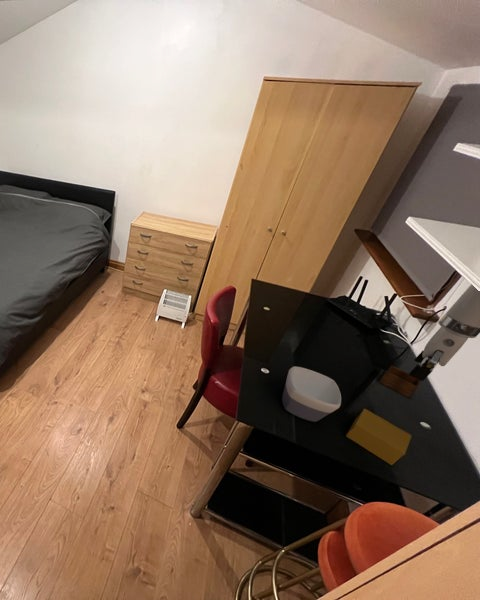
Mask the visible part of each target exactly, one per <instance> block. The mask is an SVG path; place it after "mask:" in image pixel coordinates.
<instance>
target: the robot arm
mask: <svg viewBox="0 0 480 600" xmlns="http://www.w3.org/2000/svg"><path fill="white" fill-rule="evenodd" d="M438 325H439V326H440V327H439V328H438V330H437V331H436V332H434V334H433V335H432V336H431V338H430V339H429V340H428V342H427V343H426V345H425V346H424V349H423V350H422V351H421V352H420V353H419V354H418V355H417V356H416V357H415V358H414V361H415V362H416V363H417V364H416V365H415V366H414V367H413V369H411V371H410V372H408V374H409V375H410V376H412V377H414V378H416V379H419V380H421V381H420V382H424V381H425V380H426V379H427V378H428V377H429V375H431V374H432V373H433V371H434V369H435V368H436V367H437V365H439V366H440V367H445V366H446V365H447V364H448V363H449V362H450V361H451V359H453V357H454V356H455V355H457V353H458V352H459V351H460V350H461V348H462V347H463V346H464V345H465V344H466V342H467V341H468V340H469V339H475V338H477V337H478V335H480V291H478V290H477V289H476V288H475V287H474V286H473V285H472V283H471V284H470V285H469V286H468V287H467V288H466V290H465V291H464V292H463V293H462V294H461V296H459V298H457V300H455V302H454V303H453V305H451V307H450V308H449V309H448V310H447V311H446V312H445V314H443V316H442V317H441V318H440V319H439V320H438Z"/></svg>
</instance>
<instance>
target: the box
mask: <svg viewBox="0 0 480 600" xmlns="http://www.w3.org/2000/svg"><path fill="white" fill-rule="evenodd" d="M345 437H346V438H348V439H349V440H351V441H353V442H354V443H356V444H357V445H359V446H360V447H362V448H364V449H365V450H366V451H368V452H370V453H371V454H373V455H375V456H376V457H377V458H379V459H381V460H383V461H384V462H386V463H387V464H388V465H390V466H393V465H394V464H396V462H398V460H399V459H401V458H402V457H403V456H405V455H406V452H407V450H408V447H409V445H410V441H411V439H412V437H413V436H412V434H410V433H408V432H407V431H405V430H403V429H402V428H399V427H398V426H396V425H394V424H392V423H391V422H390V421H388V420H385V419H384V418H383V417H380V416H378V415H377V414H375V413H373V412H372V411H370V410H368V409H366V408H365V407H364V408H363V409H362V411H361V413H359V414H358V416H357V417H356V418H355V419H354V421H353V422H352V424H351V425H350V427H349V430H348V431H347V433H346V435H345Z"/></svg>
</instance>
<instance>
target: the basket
mask: <svg viewBox="0 0 480 600" xmlns="http://www.w3.org/2000/svg"><path fill="white" fill-rule="evenodd" d="M421 382H422V381H421V380H419V379H416V378H414V377H412V376H410V375H409V372H407V371H404V370H402V369H400V368H399V367H396V366H394V365H391V366H390V367H389V368H388V369H387V370H386V371H384V373H383V374H382V376H381V378H380V380H379V383H380V384H382V385H383V386H385V387H387V388H389V389H391V390H393V391H395V392H397V393H399V394H400V395H403V396H404V397H406V398H410V397H411V396H412V395H413V393H414V392H416V390H417V389H418V388H419V386H420V383H421Z"/></svg>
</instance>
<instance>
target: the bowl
mask: <svg viewBox="0 0 480 600" xmlns="http://www.w3.org/2000/svg"><path fill="white" fill-rule="evenodd" d="M341 394H342V393H341V391H340V388H339V385H338V384H337V382H336V381H335V380H334V379H332V378H331V377H330V376H327V375H324V374H322V373H320V372H317V371H314V370H311V369H308V368H305V367H302V366H296V365H295V366H291V368H289V369H288V373H287V376H286V381H285V384H284V388H283V391H282V395H281V402H282V405H283V408H284V410H286V411H287V413H288V412H289V414H292V415H294V416H296V417H298V418H300V419H302V420H305V421H309V422H313V423H314V422H315V423H317V422H318V421H320V420H322V419H323V418H325V417H326V416H328V415H330V414H332V413H333V412H335V411H337V410H338V409H340V407H341V405H342V395H341Z"/></svg>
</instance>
